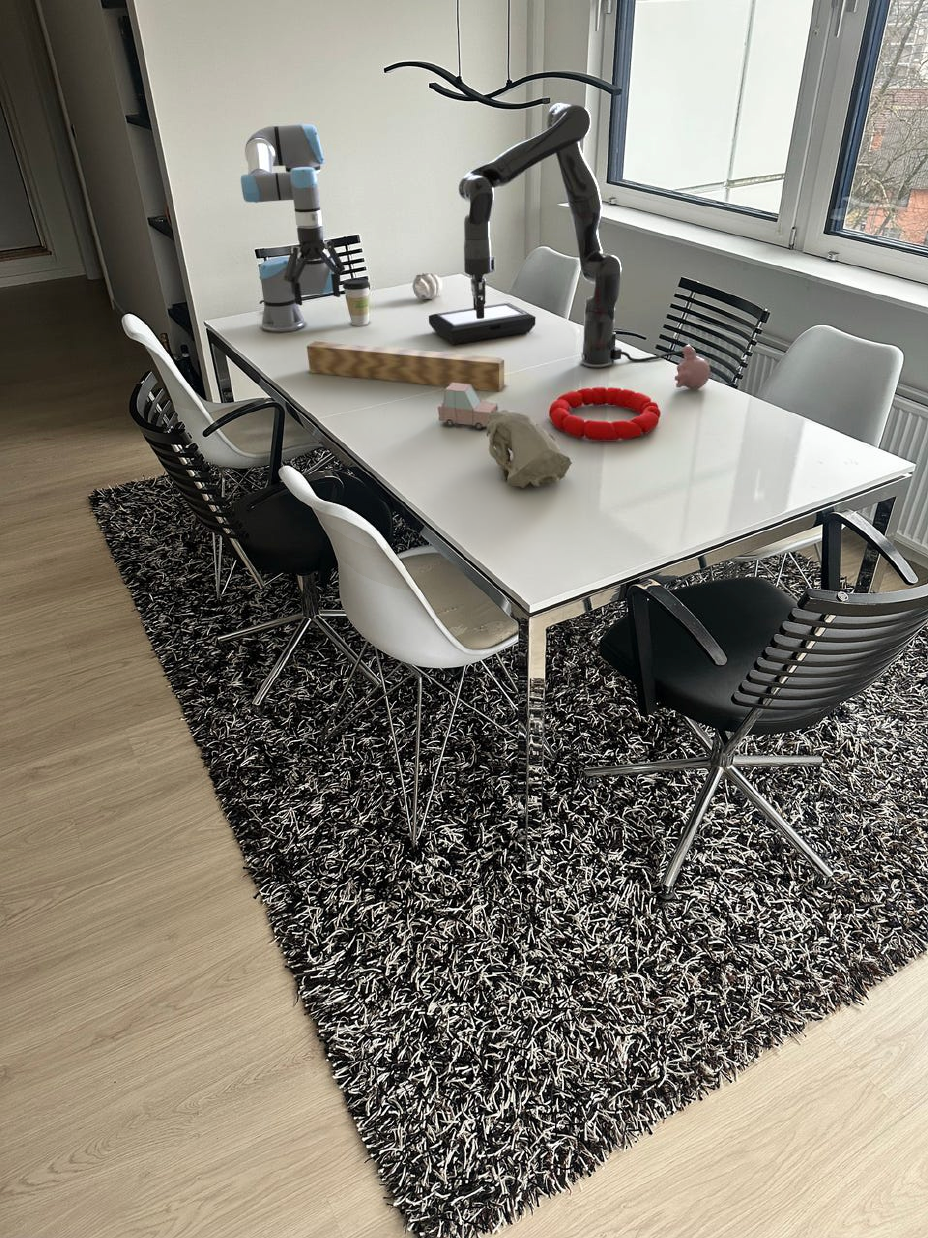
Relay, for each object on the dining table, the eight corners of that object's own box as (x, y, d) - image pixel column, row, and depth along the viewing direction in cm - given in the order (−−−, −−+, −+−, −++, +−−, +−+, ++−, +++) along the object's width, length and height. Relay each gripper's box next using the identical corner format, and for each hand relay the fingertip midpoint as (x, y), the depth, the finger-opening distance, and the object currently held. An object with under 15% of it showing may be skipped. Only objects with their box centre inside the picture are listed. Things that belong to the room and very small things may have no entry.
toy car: (488, 432, 240) (488, 396, 234) (436, 426, 244) (434, 390, 239) (499, 419, 247) (499, 384, 241) (448, 413, 252) (447, 379, 246)
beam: (310, 372, 284) (306, 345, 279) (317, 367, 288) (314, 341, 283) (499, 391, 266) (499, 363, 261) (504, 385, 269) (504, 357, 265)
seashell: (406, 298, 352) (404, 272, 346) (439, 293, 358) (438, 267, 352) (417, 304, 345) (416, 278, 339) (451, 298, 350) (450, 272, 345)
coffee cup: (372, 326, 323) (368, 283, 314) (345, 327, 323) (340, 284, 315) (374, 318, 331) (371, 276, 322) (348, 319, 331) (344, 277, 323)
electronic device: (451, 328, 298) (428, 313, 313) (451, 346, 301) (429, 331, 316) (535, 314, 308) (509, 300, 323) (535, 332, 311) (509, 318, 326)
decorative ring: (589, 435, 224) (684, 402, 234) (527, 398, 247) (617, 369, 256) (589, 461, 229) (683, 427, 238) (529, 422, 251) (617, 393, 260)
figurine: (665, 387, 264) (669, 347, 257) (693, 380, 268) (698, 340, 261) (686, 396, 257) (690, 355, 250) (714, 388, 262) (720, 348, 255)
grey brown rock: (496, 517, 219) (521, 479, 201) (463, 429, 225) (484, 384, 207) (557, 503, 225) (586, 465, 206) (523, 417, 231) (549, 373, 212)
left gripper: (278, 233, 254) (289, 310, 266) (351, 221, 267) (358, 294, 278) (265, 230, 259) (276, 305, 270) (338, 218, 272) (345, 290, 283)
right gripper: (493, 259, 240) (494, 320, 250) (488, 247, 252) (489, 306, 261) (466, 261, 240) (468, 321, 249) (461, 249, 252) (463, 307, 261)
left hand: (318, 300), depth 274 cm, fingers open, 13 cm apart
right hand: (478, 313), depth 255 cm, fingers open, 8 cm apart
